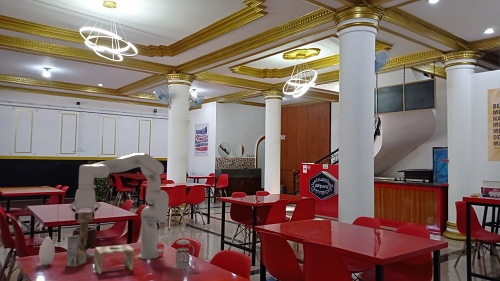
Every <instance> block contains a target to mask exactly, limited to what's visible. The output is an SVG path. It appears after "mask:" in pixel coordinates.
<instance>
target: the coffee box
mask: <svg viewBox="0 0 500 281" xmlns="http://www.w3.org/2000/svg"><path fill="white" fill-rule="evenodd" d="M86 248H87V239H80V235H75V236H68V237H67V250H66V253H67V254H66V267H78V266H80V265H83V264H86V263H87V258H86V252H87V250H86Z"/></svg>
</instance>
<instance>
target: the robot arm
mask: <svg viewBox="0 0 500 281" xmlns="http://www.w3.org/2000/svg"><path fill="white" fill-rule="evenodd" d="M135 168H140V171H141V172H142V174H143V175H144V176H145V178H146V181H147V182H146V183H147V184H146V191H145V202H146V203H148V205H149V206H145V207H144V208H142V210H141V212H140V219H141V241H140V242H141V243H140V244H141V245H140V253H139V254H138V255H137V257H138V259H140V260H141V259H144V260H152V259H157V258H159V256H160V255H159V254H163V253H165V250H164V249H159V248H157V246H158V245H157V244H158V239H157V238H158V224H161V223H164V222H165V220H166V219H167V215H168V208H169V199H170V198H169V194H168V193H167V191H165V190H161V186H162V181H161V180H162V179H161V177H160V176H161V175H163V174H164V170H165V167H164V165H163V163H162V162H160V161H159V160H157V159H156V158H154V157H153V156H152V155H150V154H148V153H145V152H141V153H140V152H138V153H137V152H136V153H132V154H131V153H130V154H129V155H124V156H121V157H117V158H112V159H107V160H104V161H100V162H95V163H93V164H81V165H80V166H79V170H78V172H79V173H78V189H76V192H75V196H74V197H75V199H74V201H73V202H72V203H71V204H69V206H68V207H69V209H70V210H71V211H72V212H73V213H74V220H75V222H77V221H78V212H80V209H90V210H91V212H92V213H93V216H92V221H93V220H94V219H95V213H96V212H97V211H98V210H99V209H100V207H101V206H102V205H101V204H100V203H99V202H97V200H96V191H95V189H96V188H97V185H96V184H95V183H94V182H95V178H96V179H105V178H107V177H108V176H109V175H110V173H111V174H113V173H122V172H123V173H124V172H126V171H129V170H132V169H135ZM150 205H152V206H150ZM153 205H154V206H153ZM74 207H75V208H74Z"/></svg>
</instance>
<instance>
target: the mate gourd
mask: <svg viewBox="0 0 500 281" xmlns="http://www.w3.org/2000/svg"><path fill="white" fill-rule="evenodd" d="M98 226H100V223H98V224H95V225H94V226H88V237H87V248H86V259H89V258H93V257H95V253H91V252H87V251H88V250H90V249H92V248H93V247H94V246H95V245H96V242H97V228H96V227H98ZM75 235H80V226H79V227H74V228H73V231H72V236H75Z"/></svg>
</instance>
